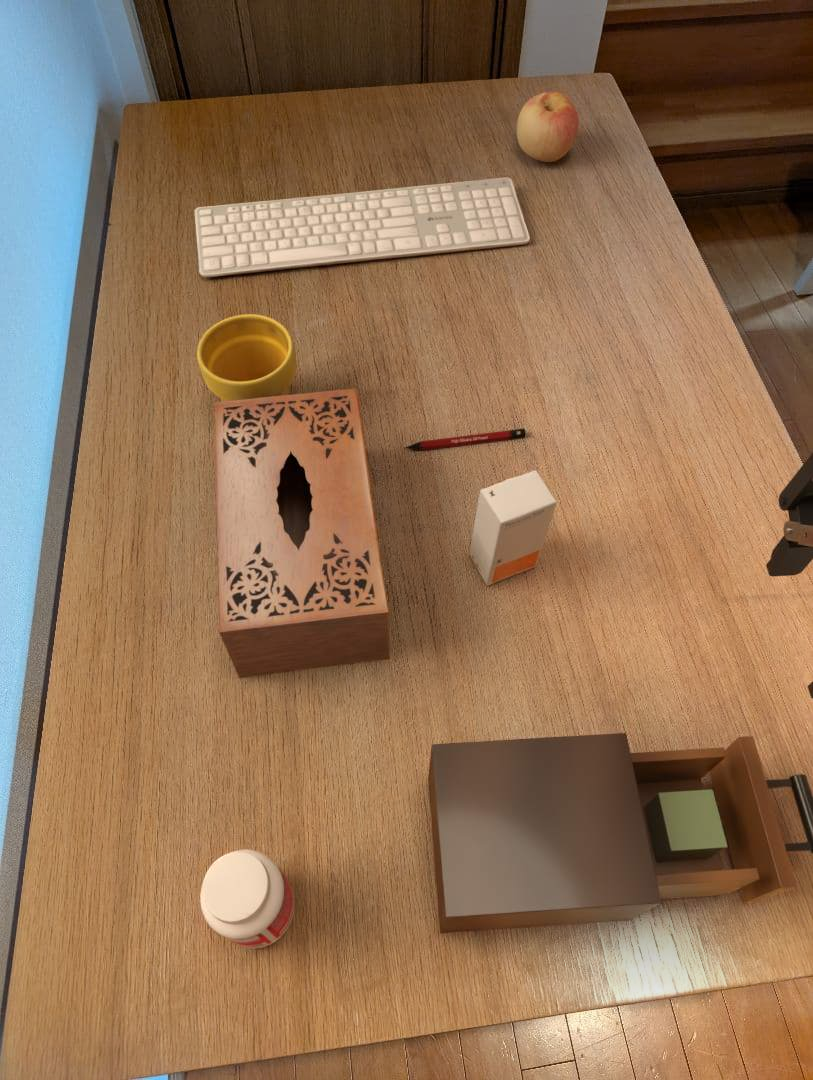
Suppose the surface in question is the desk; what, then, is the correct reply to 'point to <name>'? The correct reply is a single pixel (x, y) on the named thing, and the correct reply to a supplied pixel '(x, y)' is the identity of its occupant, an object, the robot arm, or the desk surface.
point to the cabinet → (538, 833)
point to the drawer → (727, 820)
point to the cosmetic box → (511, 526)
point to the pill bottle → (247, 899)
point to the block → (685, 825)
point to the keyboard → (358, 227)
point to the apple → (547, 126)
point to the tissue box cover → (297, 535)
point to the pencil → (468, 439)
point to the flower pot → (247, 358)
